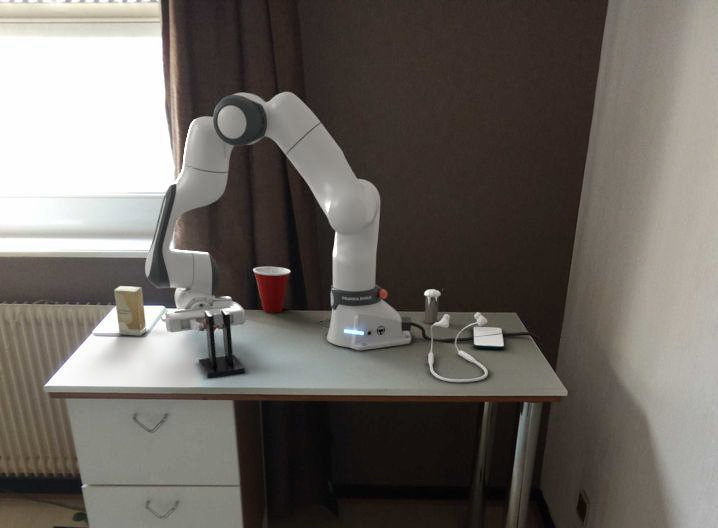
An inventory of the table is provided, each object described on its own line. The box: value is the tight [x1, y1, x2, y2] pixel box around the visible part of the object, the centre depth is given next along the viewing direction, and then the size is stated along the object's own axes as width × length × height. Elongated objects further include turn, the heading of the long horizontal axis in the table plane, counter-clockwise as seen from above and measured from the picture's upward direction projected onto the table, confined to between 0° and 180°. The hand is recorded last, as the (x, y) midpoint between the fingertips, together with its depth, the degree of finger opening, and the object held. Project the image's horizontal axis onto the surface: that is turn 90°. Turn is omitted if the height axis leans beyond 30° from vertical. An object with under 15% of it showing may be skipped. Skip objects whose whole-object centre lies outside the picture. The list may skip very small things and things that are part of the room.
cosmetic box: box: [113, 285, 147, 337], centre depth 203 cm, size 6×4×12 cm
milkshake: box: [423, 287, 445, 325], centre depth 212 cm, size 5×5×10 cm
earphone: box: [427, 311, 489, 384], centre depth 182 cm, size 14×17×18 cm
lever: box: [203, 314, 224, 332], centre depth 182 cm, size 13×4×4 cm, turn 21°
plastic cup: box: [252, 266, 291, 313], centre depth 221 cm, size 11×11×12 cm
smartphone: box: [472, 326, 505, 350], centre depth 202 cm, size 8×1×16 cm
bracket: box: [198, 309, 246, 379], centre depth 180 cm, size 10×9×14 cm
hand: (211, 327), depth 186 cm, fingers closed on lever, 3 cm apart
